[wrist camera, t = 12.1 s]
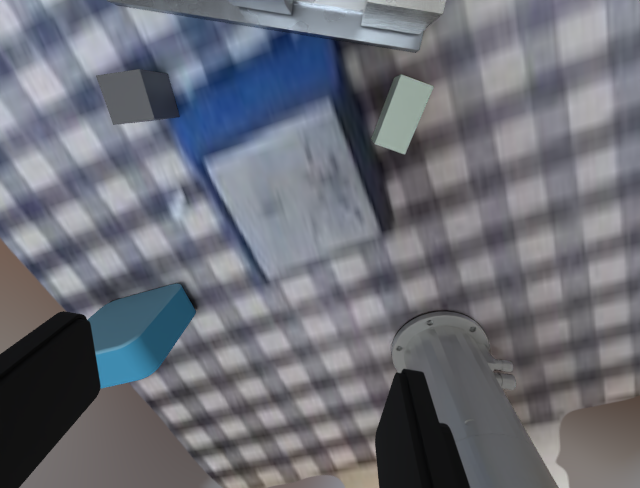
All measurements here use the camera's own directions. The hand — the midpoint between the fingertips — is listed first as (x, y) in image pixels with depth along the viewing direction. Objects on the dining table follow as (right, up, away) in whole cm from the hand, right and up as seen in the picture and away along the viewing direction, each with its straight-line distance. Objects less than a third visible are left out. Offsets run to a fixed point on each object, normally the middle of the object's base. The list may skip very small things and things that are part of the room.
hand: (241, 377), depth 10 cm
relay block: (-14, +19, +23) cm, 33 cm away
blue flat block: (-20, -4, +34) cm, 40 cm away
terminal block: (+10, +17, +22) cm, 30 cm away
